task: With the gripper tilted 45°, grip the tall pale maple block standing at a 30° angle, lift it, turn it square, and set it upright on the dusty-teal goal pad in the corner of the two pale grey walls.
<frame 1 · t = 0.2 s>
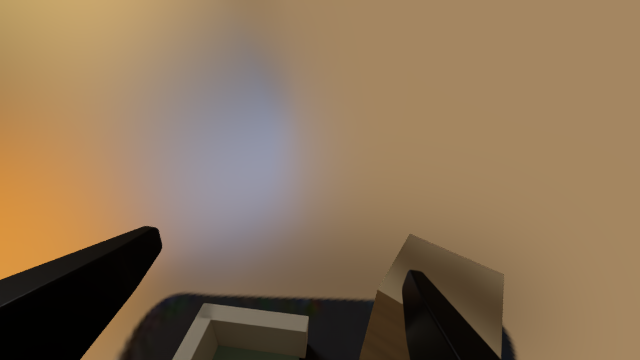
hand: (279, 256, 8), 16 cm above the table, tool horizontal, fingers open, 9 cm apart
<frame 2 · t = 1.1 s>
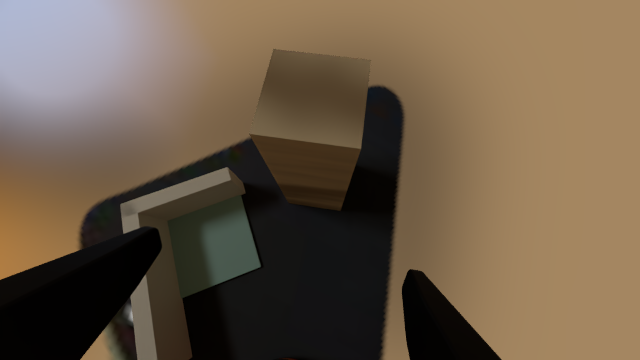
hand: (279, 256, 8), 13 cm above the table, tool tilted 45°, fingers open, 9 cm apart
maple block: (318, 182, 24), on the table
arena: (213, 243, 22), on the table
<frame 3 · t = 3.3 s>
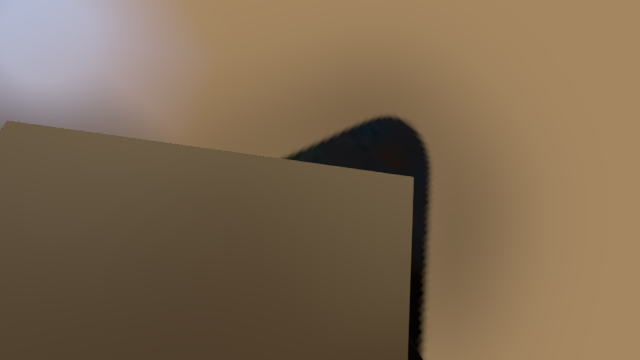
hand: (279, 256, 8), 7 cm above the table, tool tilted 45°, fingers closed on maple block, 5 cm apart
maple block: (293, 284, 14), on the table, touching gripper
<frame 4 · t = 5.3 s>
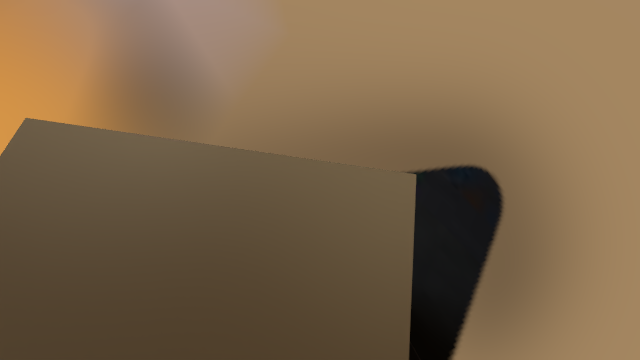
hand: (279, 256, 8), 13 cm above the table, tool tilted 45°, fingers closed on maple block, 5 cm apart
maple block: (295, 283, 14), point 7 cm above the table, touching gripper
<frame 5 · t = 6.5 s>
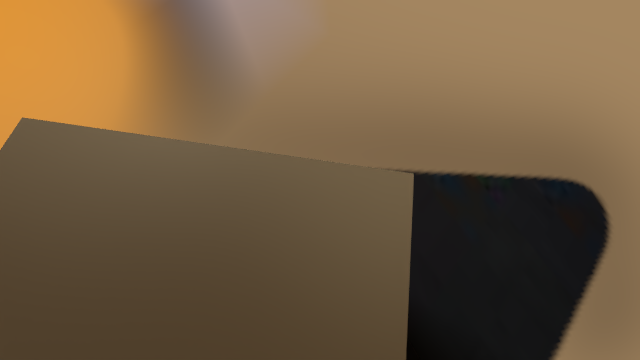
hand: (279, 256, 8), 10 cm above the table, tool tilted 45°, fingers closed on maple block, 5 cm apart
maple block: (295, 283, 14), point 3 cm above the table, touching gripper
when the fingers open (8 cm above the table, at t = 7.3 s): maple block drops 1 cm, resting on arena.
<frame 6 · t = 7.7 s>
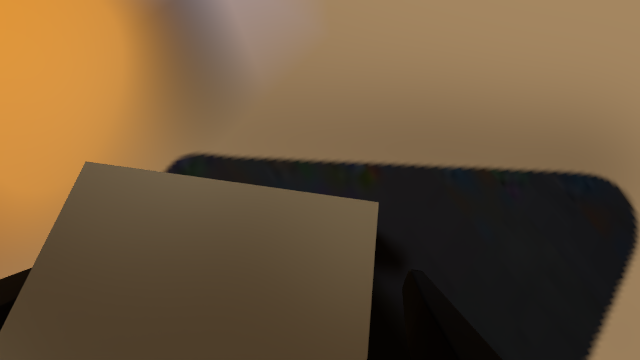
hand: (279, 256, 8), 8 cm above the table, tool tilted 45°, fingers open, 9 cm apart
maple block: (293, 282, 15), resting on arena
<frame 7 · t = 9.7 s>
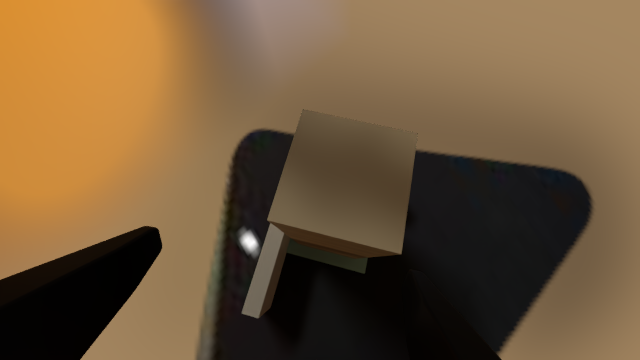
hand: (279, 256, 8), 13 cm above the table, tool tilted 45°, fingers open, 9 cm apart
maple block: (333, 223, 22), resting on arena
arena: (334, 223, 22), on the table
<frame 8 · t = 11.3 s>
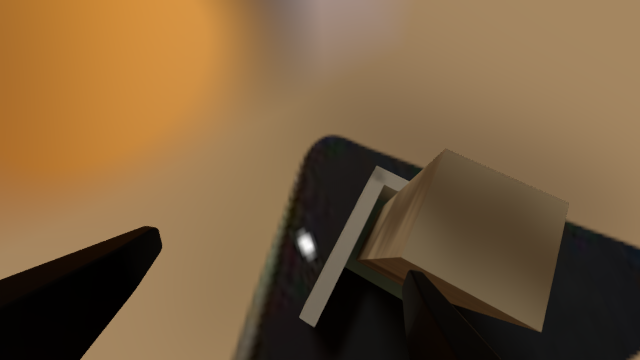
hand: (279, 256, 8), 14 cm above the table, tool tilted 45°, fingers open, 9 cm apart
maple block: (392, 248, 21), resting on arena
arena: (393, 248, 22), on the table
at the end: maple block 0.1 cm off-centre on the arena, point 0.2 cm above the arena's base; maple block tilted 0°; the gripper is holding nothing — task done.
